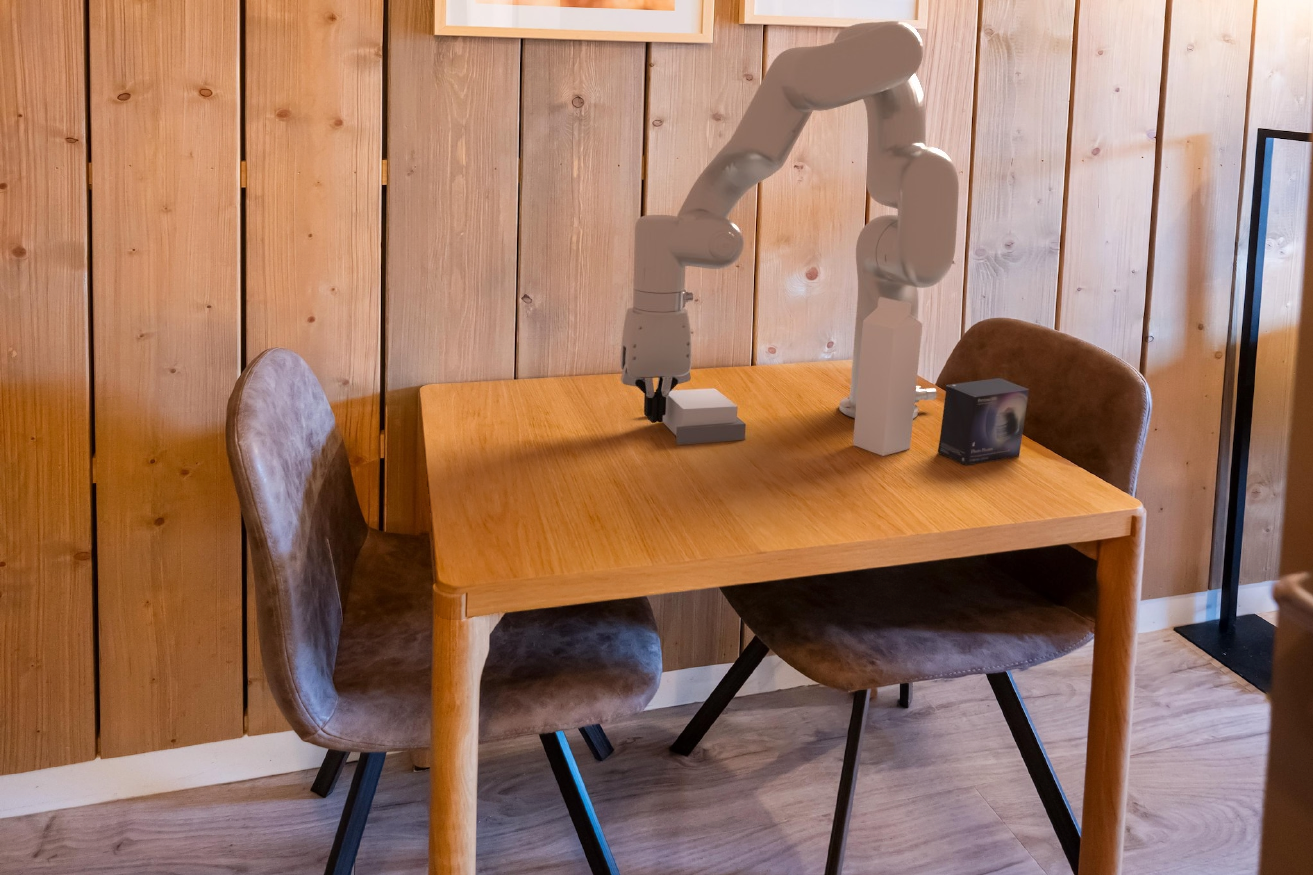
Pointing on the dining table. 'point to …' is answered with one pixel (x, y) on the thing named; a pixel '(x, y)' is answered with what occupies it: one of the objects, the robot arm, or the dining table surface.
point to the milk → (887, 378)
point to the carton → (698, 408)
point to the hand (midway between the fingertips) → (654, 419)
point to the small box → (983, 421)
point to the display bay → (711, 433)
